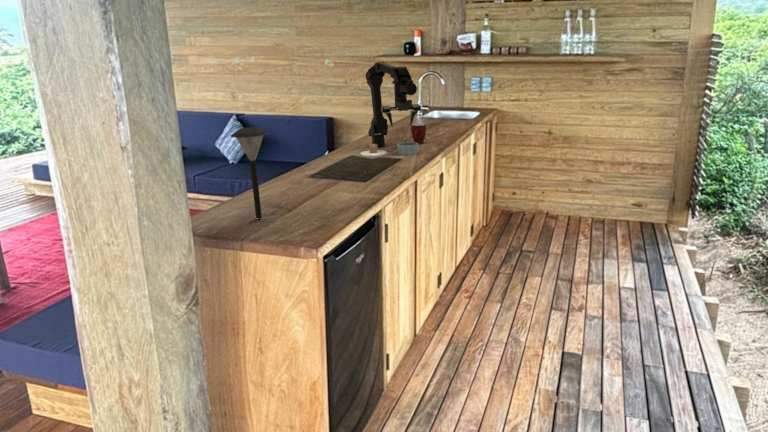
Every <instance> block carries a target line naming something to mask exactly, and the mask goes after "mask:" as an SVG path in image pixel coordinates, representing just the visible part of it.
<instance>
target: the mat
mask: <svg viewBox="0 0 768 432" xmlns="http://www.w3.org/2000/svg"><path fill="white" fill-rule="evenodd" d="M386 152H387V154H386V155H383V156H376V157H365V156H361V155H360V153H361V152H359V153H358V152H357V153H353V154H352V157H353V156H354V157H360V158H367V159H371V160H374V159H378V158H382V157H386V156H392V155H395V154H397V153H396V152H391V151H386Z"/></svg>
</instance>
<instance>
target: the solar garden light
mask: <svg viewBox="0 0 768 432" xmlns="http://www.w3.org/2000/svg"><path fill="white" fill-rule="evenodd" d="M269 134H270V132H269V131H267V130H264V129H263V128H260V127H258V126H257V127H256V126H255V127H254V126H253V127H250V126H249V127H243V128H240V129H237V130H236V131H235V132H234V133H232V134H231V135H230V137H231V138H236V140H237V141H238V143H239V146H240V147H241V148H242V150H243V151H244V153H245V155H246V157H247V158H248V160H249V166H250V174H251V175H250V176H251V177H250V178H251V184H252V194H253V203H254V211H255V219H256V218H259V219H260V218H262V217H263V216H262V208H261V207H262V206H261V199H260V197H261V196H260V189H259V179H258V168H257V162H256V161H257V160H256V159H257V156H258V153H259V150H260V148H261V145H262V142H263V139H264V136H266V135H269ZM262 219H263V218H262Z"/></svg>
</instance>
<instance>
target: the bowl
mask: <svg viewBox="0 0 768 432" xmlns="http://www.w3.org/2000/svg"><path fill="white" fill-rule="evenodd" d="M396 148H397V149H396V150H397V153H396V154H398V155H400V156H401V155H402V156H405V155H406V156H411V155H417V154H419V151H420V150H419V144H418V143H416V142H414V141H406V142H399V143H397V144H396Z"/></svg>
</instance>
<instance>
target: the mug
mask: <svg viewBox="0 0 768 432" xmlns="http://www.w3.org/2000/svg"><path fill="white" fill-rule="evenodd" d="M410 131H411V136H412V140H413V142H416V143H418V145H419V144H423V143H424V141H425V139H426V132H427V124H426V123H412V125H411V126H410Z"/></svg>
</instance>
